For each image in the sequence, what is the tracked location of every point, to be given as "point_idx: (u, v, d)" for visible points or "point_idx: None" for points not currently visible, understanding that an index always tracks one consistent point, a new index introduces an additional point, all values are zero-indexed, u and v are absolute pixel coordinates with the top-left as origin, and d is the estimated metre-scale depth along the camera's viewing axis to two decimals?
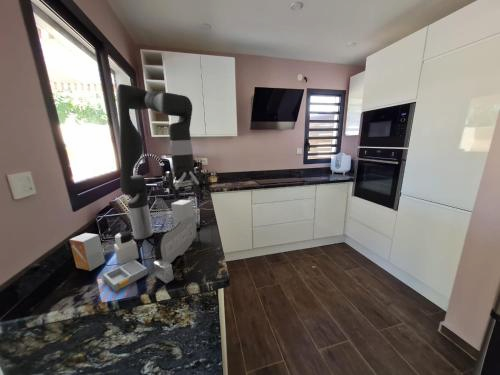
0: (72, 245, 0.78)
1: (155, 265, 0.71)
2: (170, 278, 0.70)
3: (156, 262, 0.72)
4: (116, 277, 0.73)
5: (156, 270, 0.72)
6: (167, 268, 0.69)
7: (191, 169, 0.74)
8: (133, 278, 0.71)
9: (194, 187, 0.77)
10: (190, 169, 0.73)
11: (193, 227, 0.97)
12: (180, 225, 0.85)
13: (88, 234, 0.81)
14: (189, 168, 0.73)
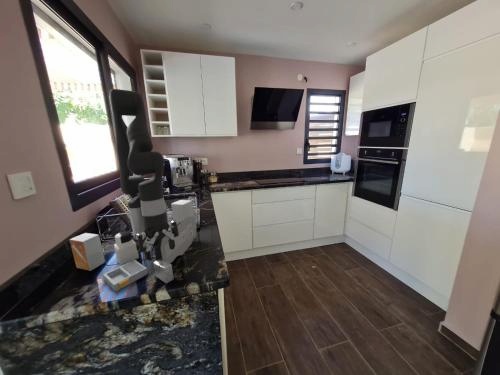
0: (72, 245, 0.78)
1: (155, 265, 0.71)
2: (170, 278, 0.70)
3: (156, 262, 0.72)
4: (116, 277, 0.73)
5: (156, 270, 0.72)
6: (167, 268, 0.69)
7: (165, 226, 0.69)
8: (133, 278, 0.71)
9: (170, 242, 0.73)
10: (164, 226, 0.69)
11: (193, 227, 0.97)
12: (180, 225, 0.85)
13: (88, 234, 0.81)
14: (163, 225, 0.69)
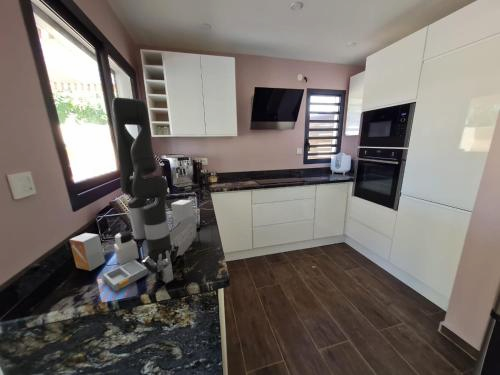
0: (72, 245, 0.78)
1: None
2: (170, 278, 0.70)
3: None
4: (116, 277, 0.73)
5: None
6: (167, 268, 0.69)
7: (169, 246, 0.71)
8: (133, 278, 0.71)
9: None
10: (167, 247, 0.71)
11: (193, 227, 0.97)
12: (180, 225, 0.85)
13: (88, 234, 0.81)
14: (166, 247, 0.70)
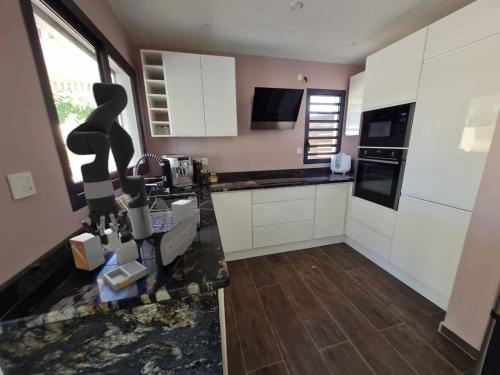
0: (72, 245, 0.78)
1: None
2: (116, 246, 0.66)
3: None
4: (116, 277, 0.73)
5: None
6: (111, 235, 0.65)
7: (114, 209, 0.67)
8: (133, 278, 0.71)
9: None
10: (112, 210, 0.67)
11: (193, 227, 0.97)
12: (180, 225, 0.85)
13: (88, 234, 0.81)
14: (110, 209, 0.66)
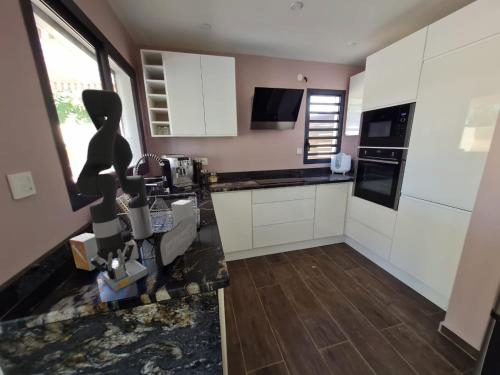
0: (72, 245, 0.78)
1: None
2: None
3: None
4: None
5: None
6: (118, 269, 0.68)
7: (121, 244, 0.70)
8: (133, 278, 0.71)
9: None
10: (119, 246, 0.69)
11: (193, 227, 0.97)
12: (180, 225, 0.85)
13: (88, 234, 0.81)
14: (118, 245, 0.69)
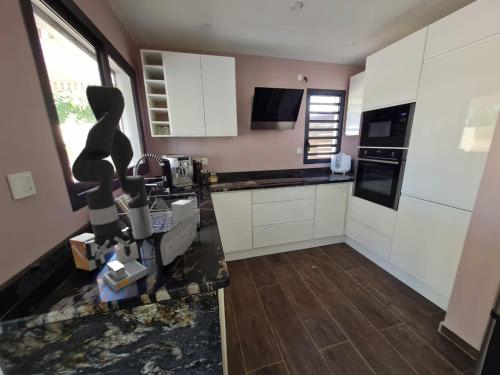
0: (72, 245, 0.78)
1: (108, 267, 0.70)
2: None
3: (110, 264, 0.71)
4: None
5: (110, 271, 0.71)
6: (119, 270, 0.68)
7: (118, 233, 0.69)
8: (133, 278, 0.71)
9: (125, 249, 0.72)
10: (116, 233, 0.68)
11: (193, 227, 0.97)
12: (180, 225, 0.85)
13: (88, 234, 0.81)
14: (115, 233, 0.68)
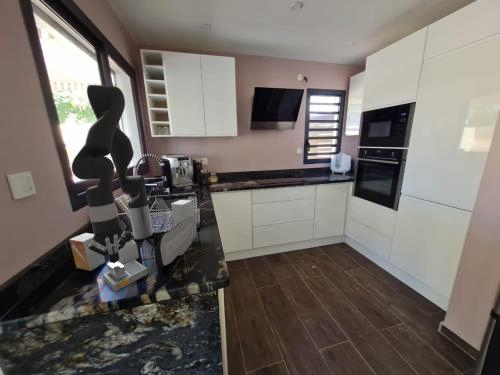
0: (72, 245, 0.78)
1: (108, 267, 0.70)
2: None
3: (110, 264, 0.71)
4: None
5: (110, 271, 0.71)
6: (119, 270, 0.68)
7: (119, 230, 0.69)
8: (133, 278, 0.71)
9: None
10: (116, 231, 0.68)
11: (193, 227, 0.97)
12: (180, 225, 0.85)
13: (88, 234, 0.81)
14: (114, 230, 0.68)
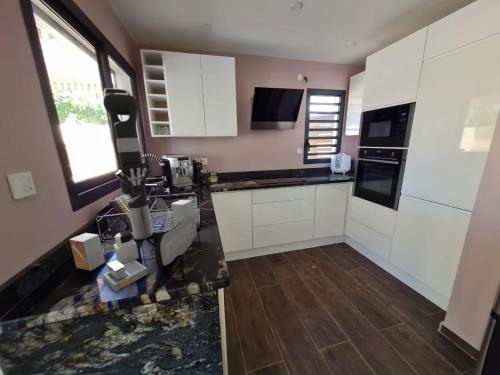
0: (72, 245, 0.78)
1: (108, 267, 0.70)
2: None
3: (110, 264, 0.71)
4: None
5: (110, 271, 0.71)
6: (119, 270, 0.68)
7: (141, 165, 0.78)
8: (133, 278, 0.71)
9: None
10: (139, 165, 0.77)
11: (193, 227, 0.97)
12: (180, 225, 0.85)
13: (88, 234, 0.81)
14: (137, 164, 0.77)
